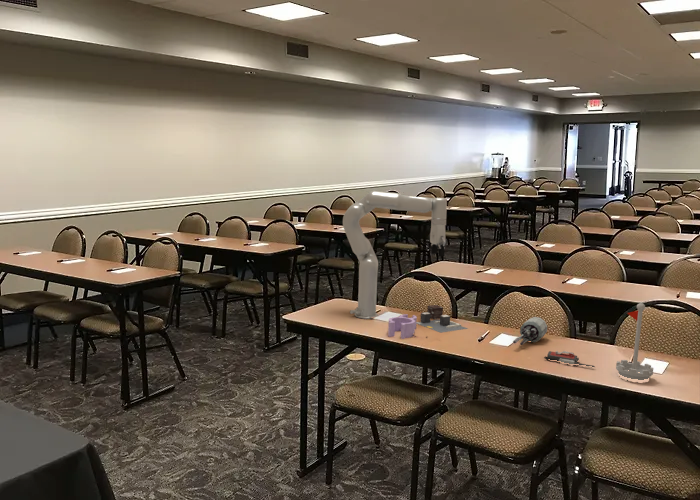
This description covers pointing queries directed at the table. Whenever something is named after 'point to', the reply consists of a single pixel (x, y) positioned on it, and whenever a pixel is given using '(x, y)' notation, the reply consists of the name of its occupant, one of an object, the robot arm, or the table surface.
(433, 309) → the box
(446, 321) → the breaker
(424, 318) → the block
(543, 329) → the device
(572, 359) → the walkie-talkie
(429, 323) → the panel
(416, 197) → the robot arm
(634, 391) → the table surface
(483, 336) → the table surface
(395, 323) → the clip
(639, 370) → the flag stand
